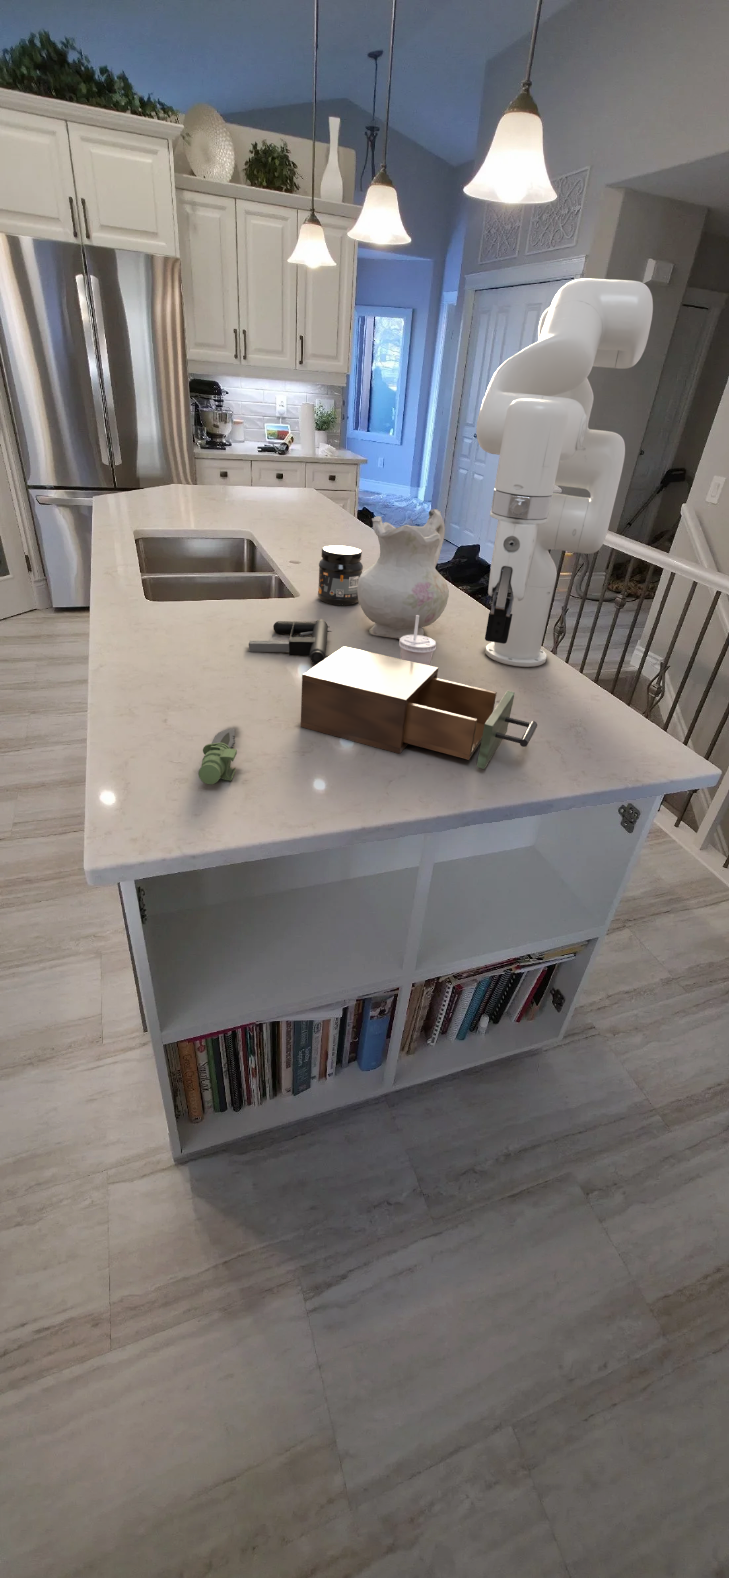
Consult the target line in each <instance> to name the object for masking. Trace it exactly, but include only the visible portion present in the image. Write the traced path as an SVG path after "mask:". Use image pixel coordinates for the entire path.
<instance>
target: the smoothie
mask: <svg viewBox="0 0 729 1578" xmlns="http://www.w3.org/2000/svg"><path fill="white" fill-rule="evenodd" d="M418 623H419V615H416V620H415V629H414V635H406V636H403V637H401V638H400V639H399V641H398V646H399V648H400V659H403V660H407V661H411V662H416V663H420V664H425V665H429V666H431V661H432V659H433V658H432V657H433V654H434V652H435V650H436V649H437V641H436V640H435V639H433V638H431V637H430V636H426V635H424V636H422V635H417V631H418Z"/></svg>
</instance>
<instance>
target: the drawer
mask: <svg viewBox="0 0 729 1578" xmlns="http://www.w3.org/2000/svg"><path fill="white" fill-rule="evenodd" d="M497 693H498V692H497V691H495V690H489V689H486V688H481V687H477V686H474V685H473V686H472V685H468V684H464V683H459V682H457V681H451V680H448V679H443V678H438V677H437V678H434V677H433V678H432V679H431V680H430V681H429V682H428V683H427V684H426V685H425V686H424V687H423V688H422V689H421V690H420V691H419V692H418V693H417V694H416V695H415V696H414V697H413V698H412V699H411V700H410V701H409V702H408V703H407V711H406V720H405V728H404V737H403V742H404V743H408V745H411V746H415V747H420V748H423V749H426V750H431V751H435V752H438V753H442V754H445V755H449V756H453V757H455V758H456V757H457V758H460V759H465V760H468V761H469V760H470V759H471V757H472V756H473V755H474V753H475V752H476V750H477V749H478V747H479V745H480V747H479V752H478V757H477V762H476V768H479V769H482V770H485V769H486V768H487V766H488V764H489V762H490V760H492V757H493V756H494V754H495V752H496V751H497V749H498V748H499V746H500V744H501V742H502V741H503V740H505V741H509V742H511V743H512V742H513V743H516V744H519V745H520V746H521V747H522V748H526V747H528V746H529V743H530V741H531V740H532V738H533V735H534V734H535V732H536V729H537V728H538V723H537V721H535V720H531V721H530V722H529V721H525V720H521V719H517V718H513V717H511V714H512V708H513V704H514V699H515V695H516V692H514V691H510V690H506V692H505V694H504V695H503V697H502V698H501V699H500V701H499V702H498V704H497V705H495V704H496V698H497ZM509 724H513V725H518V726H521V727H525V728H526V729H525V731H524V733H523V734H522V737H517V736H513V735H511V734H510V735H509V734H507V732H508V729H509Z"/></svg>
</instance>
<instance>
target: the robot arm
mask: <svg viewBox="0 0 729 1578" xmlns="http://www.w3.org/2000/svg"><path fill="white" fill-rule="evenodd" d="M653 301H654V300H653V294H652V292H651V290H650V287H648V286H647V285H646V283H644V282H641V281H638V280H631V279H629V280H628V279H611V278H609V279H608V278H591V277H589V278H587V277H586V278H584V277H583V278H576V279H574V280H571V281H569V282H566V283H565V284H564V285H563V286H562V287H560V288H559V289H558V291H557V292H556V294H555V295H554V297H553V298H552V301H551V304H550V306H549V307H547V308H546V309H545V310H544V311H543V313H542V314H541V317H540V320H539V324H538V331H537V338H538V339H537V341H536V342H534V343H532V344H530V345H529V346H526V347H525V348H523V349H522V350H520V351H518V352H517V353H515V354H514V355H512V356H510V357H509V358H507V359H506V360H505V361H504V362H503V363H502V364H500V365H499V366H498V368H497V369H496V370H495V372H494V373H493V375H492V377H491V379H490V380H489V381H490V382H489V384H488V386H487V389H486V391H485V395H484V397H483V399H482V403H481V405H480V408H479V412H478V416H477V420H476V429H475V430H476V431H475V432H476V439H477V443H478V446H479V447H480V448H481V449H482V451H484V452H486V453H488V454H490V455H498V456H499V457H498V463H497V469H496V476H495V483H494V489H493V494H492V501H491V505H490V513H489V516H490V517H491V518H492V519H495V520H497V525H496V529H495V536H494V543H493V549H492V554H491V555H492V556H491V562H490V563H491V564H490V571H489V578H488V579H489V580H488V588H487V589H488V590H487V594H488V595H489V596H490V597H492V601H491V607H490V611H489V613H488V618H487V623H486V629H485V636H484V640H485V641H486V642H490V643H488V644H487V645H486V646H485V650H484V653H485V655H486V656H487V657H488V658H490V659H491V660H494V661H495V662H497V663H501V664H503V665H506V666H507V665H508V666H512V667H520V668H531V667H532V668H533V667H538V666H541V665H544V664H545V663H546V662H547V657H548V654H547V653H546V652H545V651H544V649H542V644H543V640H544V636H545V631H546V626H547V621H548V617H549V613H550V609H551V605H552V604H551V603H552V601H553V600H552V599H553V595H554V591H555V586H556V581H557V577H558V576H557V575H558V573H557V571H558V570H557V567H556V563H555V561H554V560H553V558H552V555H551V554H550V552H549V550H552V551H553V550H554V551H555V550H557V551H562V552H563V551H564V552H570V553H577V554H586V555H587V554H594V553H597V552H598V551H600V549H601V548H602V547H603V545H604V543H605V540H606V537H607V534H608V531H609V527H610V522H611V519H612V514H613V510H614V506H615V502H616V497H617V494H618V489H619V485H620V482H621V477H622V472H623V468H624V463H625V457H626V444H625V440H624V438H623V436H622V435H620V434H619V433H617V432H615V431H611V430H609V431H608V430H602V429H601V430H600V429H592V428H589V421H590V417H591V413H592V408H593V406H594V405H593V404H594V398H595V397H594V392H593V391H594V390H593V389H592V386H591V383H590V380H589V375H590V373H591V371H592V369H593V367H596V368H597V367H598V368H608V369H619V370H622V369H623V370H625V369H626V370H627V369H630V368H632V367H635V365H637V363H638V362H639V361H640V360H641V358H642V356H643V355H644V352H645V350H646V348H647V347H646V346H647V343H648V340H649V336H650V330H651V325H652V320H653V314H654V313H653V312H654V302H653ZM555 486H558V487H559V486H560V487H566V488H575V489H584V490H587V491H588V492H589V495H590V497H585V496H577V495H568V494H564V493H556V492H554V489H555Z"/></svg>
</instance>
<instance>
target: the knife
mask: <svg viewBox="0 0 729 1578" xmlns="http://www.w3.org/2000/svg"><path fill="white" fill-rule="evenodd" d="M235 735H236V729H235V728H227V729H223V730H222V731H219V732H218V733H216V734H215V736H214V737H213V739H212V741H211V743H207V744H205V745H204V747H203V748H202V753H203V755H204V757H202V760H201V765H200V769H199V770H198V777H199V780H200V781H201V782H202V783H204V784H205V785H214V784H217V783H218V782H219V780H220V779H221V780H224V781H231V782H232V780H233V778H234V776H235V774H236V767H234V768H232V767H231V762H233V763H234V761H235V758H236V757H237V754H238V749H236V748H234V746H235V744H236V738H235Z"/></svg>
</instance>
